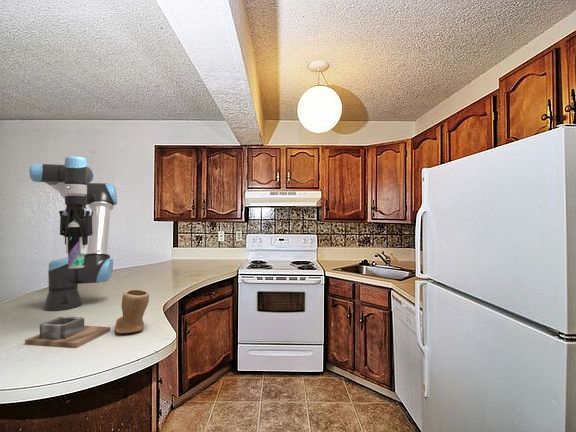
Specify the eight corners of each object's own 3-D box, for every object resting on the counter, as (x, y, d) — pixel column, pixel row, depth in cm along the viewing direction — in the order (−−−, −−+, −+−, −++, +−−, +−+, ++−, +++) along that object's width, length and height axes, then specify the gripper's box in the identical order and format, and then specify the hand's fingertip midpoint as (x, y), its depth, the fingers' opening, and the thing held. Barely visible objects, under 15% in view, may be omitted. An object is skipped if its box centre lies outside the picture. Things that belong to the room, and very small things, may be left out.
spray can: (67, 269, 129) (67, 217, 129) (69, 267, 134) (68, 217, 134) (83, 267, 132) (83, 217, 132) (84, 266, 137) (84, 217, 137)
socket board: (24, 344, 113) (24, 326, 113) (64, 328, 128) (64, 312, 128) (76, 347, 109) (76, 329, 109) (110, 331, 125) (110, 315, 125)
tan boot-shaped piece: (149, 332, 123) (149, 292, 123) (113, 337, 118) (113, 295, 118) (148, 321, 137) (148, 284, 137) (116, 325, 132) (116, 287, 132)
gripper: (47, 195, 131) (48, 253, 131) (89, 194, 128) (89, 254, 128) (63, 196, 138) (64, 251, 138) (103, 195, 135) (103, 252, 135)
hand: (76, 253), depth 133 cm, fingers closed on spray can, 5 cm apart
